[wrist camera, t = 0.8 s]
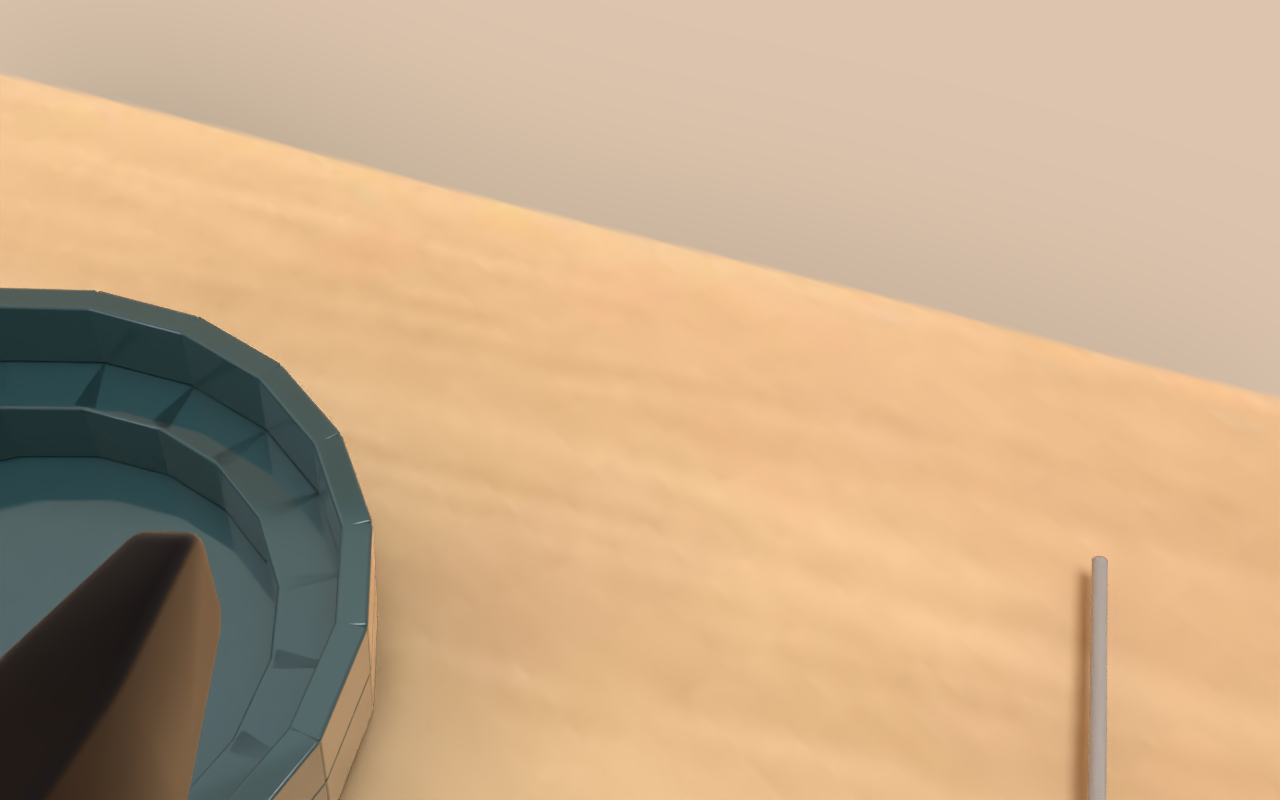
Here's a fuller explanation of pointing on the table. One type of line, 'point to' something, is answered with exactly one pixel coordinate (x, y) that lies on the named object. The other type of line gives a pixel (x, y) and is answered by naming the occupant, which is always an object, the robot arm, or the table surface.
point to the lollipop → (1098, 681)
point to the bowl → (195, 519)
